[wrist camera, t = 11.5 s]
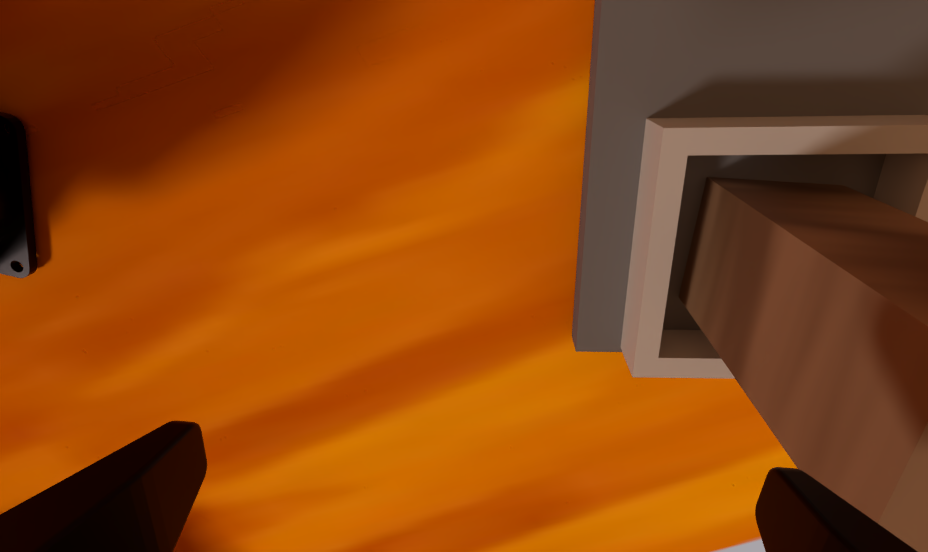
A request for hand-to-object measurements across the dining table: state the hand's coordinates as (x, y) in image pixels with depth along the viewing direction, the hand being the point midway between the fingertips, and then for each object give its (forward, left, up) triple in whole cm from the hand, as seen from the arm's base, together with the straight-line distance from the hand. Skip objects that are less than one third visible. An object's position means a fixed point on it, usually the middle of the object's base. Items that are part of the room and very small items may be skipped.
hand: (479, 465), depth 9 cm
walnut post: (-2, +9, -12) cm, 15 cm away
